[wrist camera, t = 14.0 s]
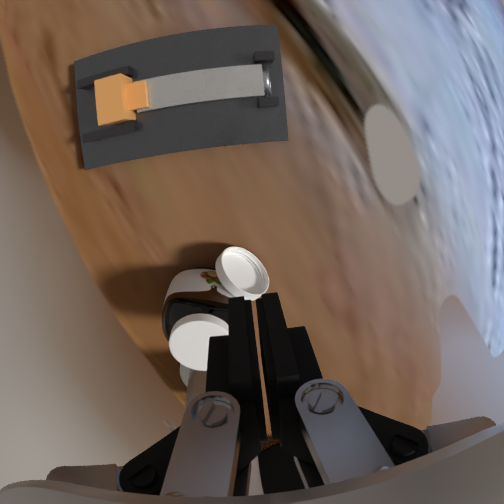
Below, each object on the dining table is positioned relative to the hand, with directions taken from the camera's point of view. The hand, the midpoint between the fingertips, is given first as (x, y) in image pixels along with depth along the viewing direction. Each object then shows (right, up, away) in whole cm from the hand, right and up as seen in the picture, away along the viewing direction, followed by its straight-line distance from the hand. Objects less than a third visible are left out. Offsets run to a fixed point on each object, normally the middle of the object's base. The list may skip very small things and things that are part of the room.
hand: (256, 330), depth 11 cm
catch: (-14, +20, +19) cm, 30 cm away
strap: (-5, +20, +19) cm, 28 cm away
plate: (-9, +21, +20) cm, 30 cm away
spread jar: (-5, -1, +30) cm, 30 cm away
